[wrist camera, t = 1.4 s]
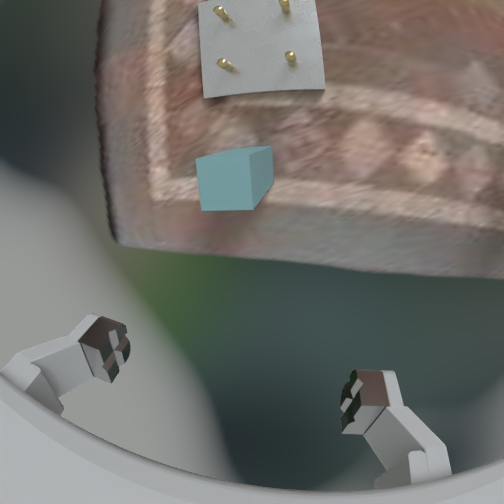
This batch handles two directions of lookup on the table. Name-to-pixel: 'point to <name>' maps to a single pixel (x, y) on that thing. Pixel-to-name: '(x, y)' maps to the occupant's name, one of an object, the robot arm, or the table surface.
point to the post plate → (259, 47)
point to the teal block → (235, 178)
